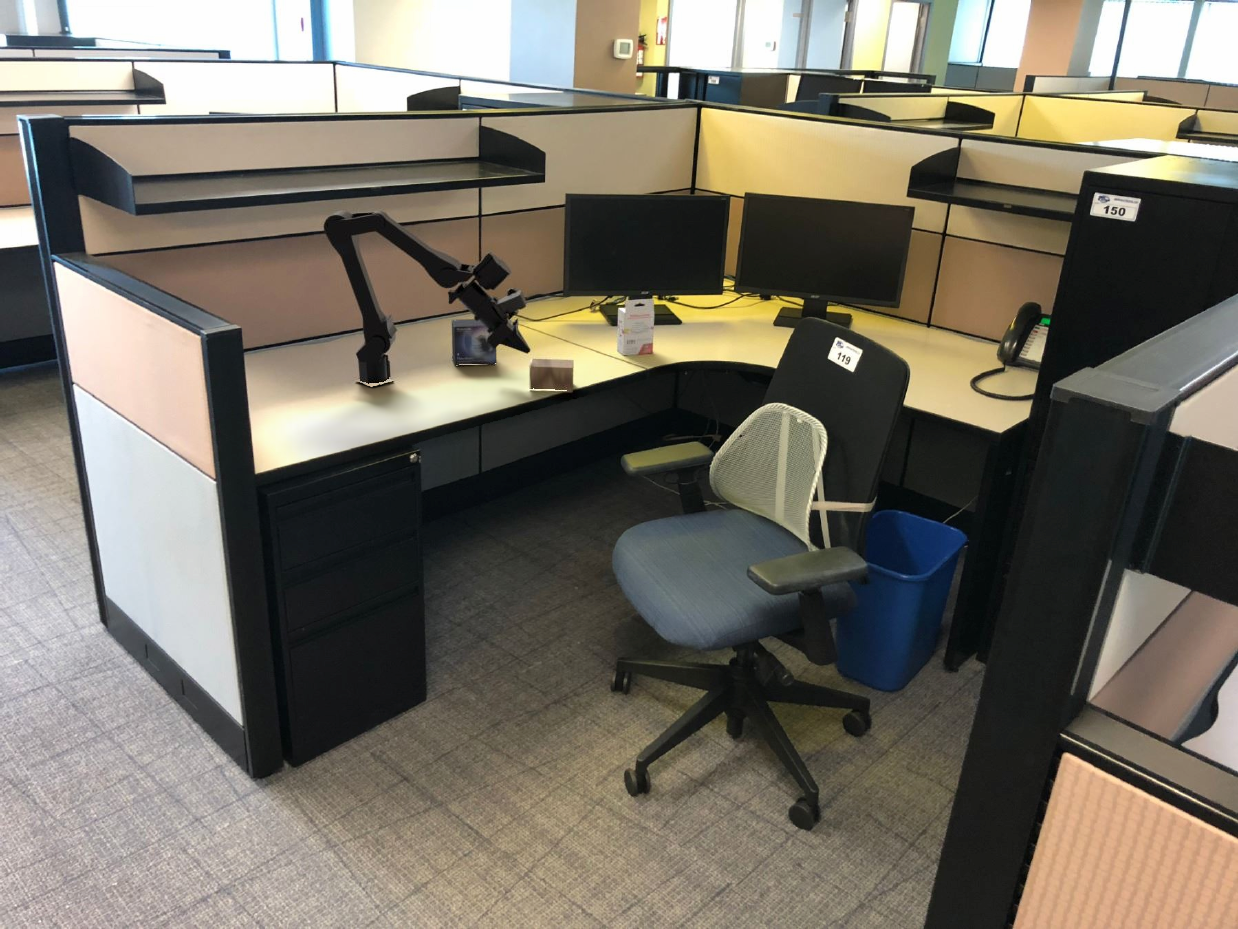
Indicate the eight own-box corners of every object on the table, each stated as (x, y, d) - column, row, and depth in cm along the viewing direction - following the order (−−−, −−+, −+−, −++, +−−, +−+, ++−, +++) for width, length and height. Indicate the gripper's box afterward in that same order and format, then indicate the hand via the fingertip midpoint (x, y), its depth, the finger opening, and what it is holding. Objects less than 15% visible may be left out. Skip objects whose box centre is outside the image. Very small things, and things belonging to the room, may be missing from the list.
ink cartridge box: (645, 348, 259) (648, 294, 253) (653, 353, 254) (656, 298, 248) (616, 350, 256) (618, 296, 250) (623, 356, 251) (625, 300, 245)
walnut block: (529, 366, 221) (572, 367, 222) (531, 358, 227) (573, 359, 227) (529, 391, 224) (572, 392, 224) (531, 382, 229) (573, 383, 230)
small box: (454, 367, 238) (453, 326, 233) (451, 359, 243) (450, 319, 239) (497, 365, 240) (496, 324, 236) (493, 357, 246) (492, 317, 242)
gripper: (501, 289, 208) (552, 340, 212) (508, 270, 225) (555, 317, 230) (465, 323, 211) (516, 373, 215) (475, 302, 228) (522, 348, 232)
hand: (529, 351), depth 223 cm, fingers closed
